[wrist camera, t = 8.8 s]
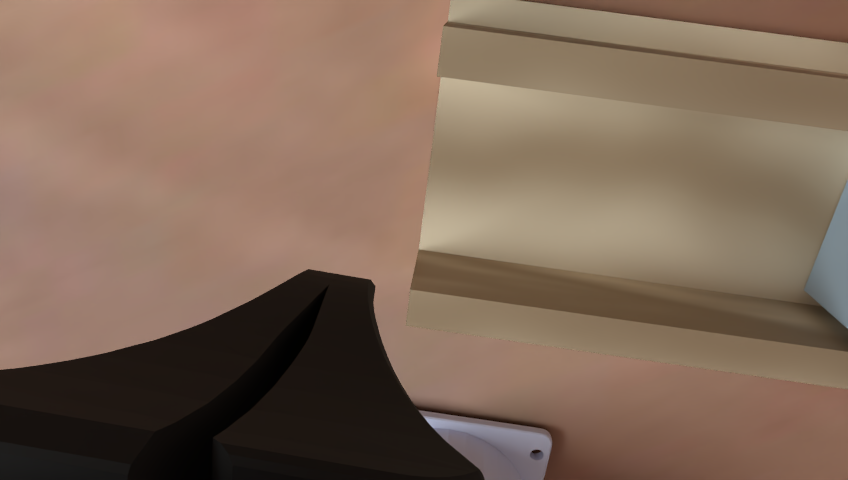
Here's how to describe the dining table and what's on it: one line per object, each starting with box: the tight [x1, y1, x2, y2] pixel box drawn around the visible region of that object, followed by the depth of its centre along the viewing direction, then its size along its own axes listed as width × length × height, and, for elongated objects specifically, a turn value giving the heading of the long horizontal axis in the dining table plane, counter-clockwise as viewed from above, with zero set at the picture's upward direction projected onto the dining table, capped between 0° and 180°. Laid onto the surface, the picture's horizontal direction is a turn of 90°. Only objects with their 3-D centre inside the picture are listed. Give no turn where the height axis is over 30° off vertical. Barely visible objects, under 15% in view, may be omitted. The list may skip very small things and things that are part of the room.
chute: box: [406, 0, 848, 389], centre depth 18 cm, size 10×19×4 cm, turn 83°
